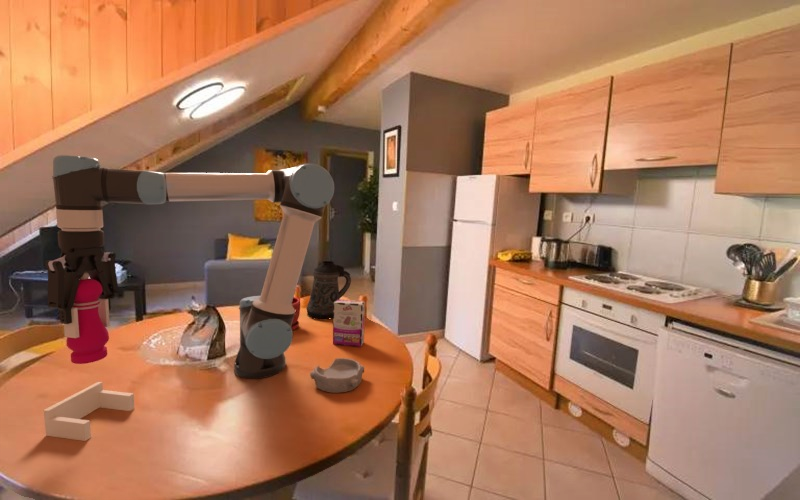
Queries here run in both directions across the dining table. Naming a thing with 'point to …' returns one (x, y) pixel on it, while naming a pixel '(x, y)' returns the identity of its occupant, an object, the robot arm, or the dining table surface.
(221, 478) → the dining table surface
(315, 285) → the beer stein
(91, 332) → the pepper mill
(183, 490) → the dining table surface
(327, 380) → the dish
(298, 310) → the plant pot
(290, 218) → the robot arm
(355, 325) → the candy bar box
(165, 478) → the dining table surface
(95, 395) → the bracket
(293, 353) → the dining table surface
